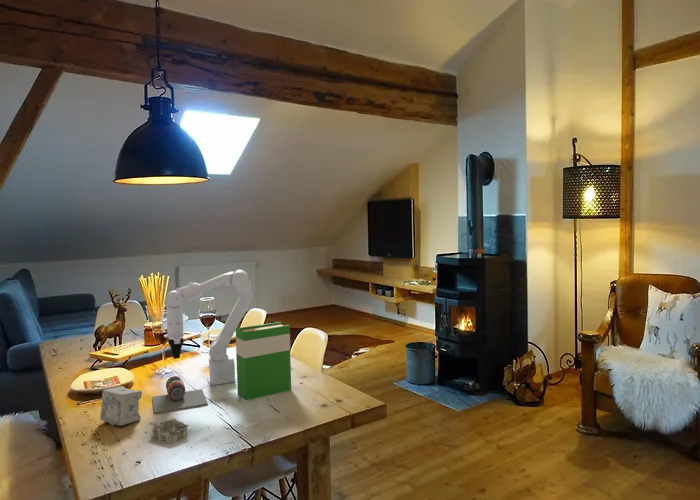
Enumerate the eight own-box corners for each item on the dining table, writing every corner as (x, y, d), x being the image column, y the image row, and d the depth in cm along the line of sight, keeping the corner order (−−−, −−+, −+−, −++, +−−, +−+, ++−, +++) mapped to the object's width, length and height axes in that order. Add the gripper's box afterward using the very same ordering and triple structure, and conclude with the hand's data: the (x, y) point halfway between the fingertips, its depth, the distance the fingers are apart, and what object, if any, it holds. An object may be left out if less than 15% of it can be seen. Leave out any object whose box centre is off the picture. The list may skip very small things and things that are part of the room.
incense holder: (143, 419, 159) (142, 387, 158) (121, 429, 151) (119, 396, 150) (122, 413, 163) (121, 382, 162) (99, 423, 156) (98, 391, 155)
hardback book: (282, 384, 188) (280, 321, 186) (291, 389, 182) (289, 325, 180) (237, 394, 179) (235, 328, 177) (245, 400, 173) (243, 332, 171)
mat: (202, 390, 183) (201, 389, 183) (207, 405, 169) (207, 403, 169) (152, 398, 176) (152, 396, 176) (154, 414, 162) (154, 412, 162)
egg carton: (148, 436, 147) (148, 422, 147) (171, 427, 153) (171, 414, 153) (168, 446, 140) (167, 432, 140) (191, 436, 146) (191, 423, 146)
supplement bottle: (179, 393, 181) (182, 404, 171) (163, 389, 179) (165, 400, 169) (185, 377, 182) (188, 387, 171) (169, 373, 179) (171, 383, 169)
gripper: (162, 319, 192) (163, 354, 193) (165, 327, 179) (166, 364, 180) (181, 318, 195) (183, 352, 196) (185, 325, 182) (186, 362, 183)
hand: (176, 358), depth 188 cm, fingers closed
